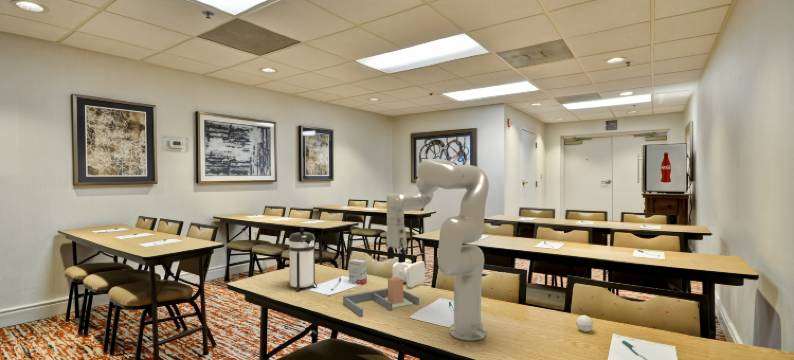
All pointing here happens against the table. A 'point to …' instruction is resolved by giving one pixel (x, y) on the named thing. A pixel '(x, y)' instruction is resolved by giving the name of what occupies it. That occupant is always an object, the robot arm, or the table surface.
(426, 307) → the table surface
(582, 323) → the white rounded lump
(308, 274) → the coffee press
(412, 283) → the cable organizer
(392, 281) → the terracotta block
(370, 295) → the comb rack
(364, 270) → the ink box
